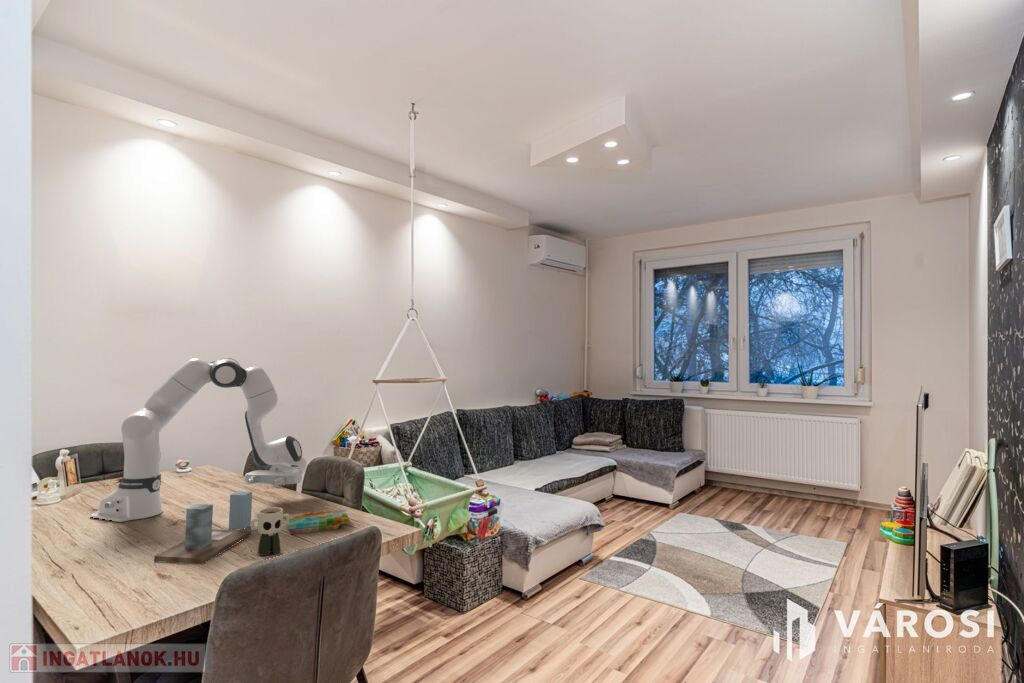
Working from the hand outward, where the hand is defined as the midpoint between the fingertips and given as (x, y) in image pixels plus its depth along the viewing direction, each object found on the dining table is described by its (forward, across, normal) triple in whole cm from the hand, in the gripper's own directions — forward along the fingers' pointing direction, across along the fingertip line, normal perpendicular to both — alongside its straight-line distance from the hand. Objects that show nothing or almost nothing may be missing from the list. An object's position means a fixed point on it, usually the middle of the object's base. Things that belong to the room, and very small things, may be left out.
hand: (262, 482), depth 193 cm
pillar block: (+13, 0, +13) cm, 18 cm away
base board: (+32, 0, +12) cm, 34 cm away
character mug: (+34, +22, +13) cm, 42 cm away
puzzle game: (+9, +26, +14) cm, 30 cm away
